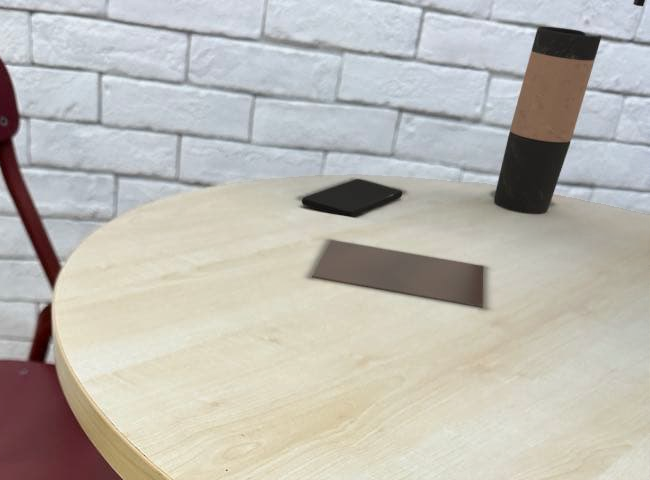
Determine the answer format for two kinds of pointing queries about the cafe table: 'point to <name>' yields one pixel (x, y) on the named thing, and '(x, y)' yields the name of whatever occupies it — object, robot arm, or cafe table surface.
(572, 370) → the cafe table surface
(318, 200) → the smartphone
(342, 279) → the coaster board
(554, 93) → the travel mug
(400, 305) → the cafe table surface
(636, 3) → the robot arm
